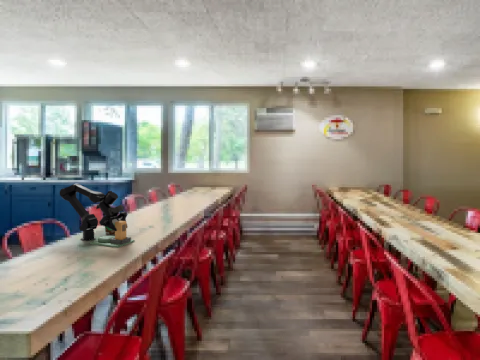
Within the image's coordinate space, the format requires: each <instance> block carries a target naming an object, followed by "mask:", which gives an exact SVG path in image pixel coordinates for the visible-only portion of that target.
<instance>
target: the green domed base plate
mask: <svg viewBox="0 0 480 360" xmlns="http://www.w3.org/2000/svg"><path fill="white" fill-rule="evenodd" d="M134 242H135V239H132V237H131V236H126V239H123V240H118V239H115V235H105V236H104V235H103V236H100V237H98V238H97V240H96V239H95V240H94V241H93V240H92V241H90V243H89V244H90V245H95V246H102V247H103V246H104V247H110V248H120V247H121V248H122V247H123V246H126V245H129V244H132V243H134Z"/></svg>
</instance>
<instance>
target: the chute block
mask: <svg viewBox="0 0 480 360" xmlns="http://www.w3.org/2000/svg"><path fill="white" fill-rule="evenodd" d="M126 223H127V220H126V221H117V222H115V227H116V229H117V231H115V234H114V236H115V239H118V240H123V239H126V237H127V228H126Z"/></svg>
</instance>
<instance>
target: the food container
mask: <svg viewBox="0 0 480 360" xmlns="http://www.w3.org/2000/svg"><path fill="white" fill-rule="evenodd" d="M117 221H118V220H117V219H115V220H112V223H113V224H114V226H115V222H117ZM104 231H105V232H104V233H105V235H106V236H115V231H114V230H112V229H110V228H108V227H105V226H104Z"/></svg>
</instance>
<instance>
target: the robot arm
mask: <svg viewBox="0 0 480 360" xmlns="http://www.w3.org/2000/svg"><path fill="white" fill-rule="evenodd" d="M77 193H79V194H80V195H83V196H85V197H87V198H88V199H89V201H91V203H93V204H95V203H96V207H95V208H96V210H99V209H100V211H101V212H102V215H103V217H102V218H101V219H100V220H98V217H97V216H96V215H95V214H94V213H92V214H90V213H89V212H88V210H86V208H85V206H83V204H82V202H81V201H80V200H79V199H78V197H77ZM59 196H60V197H61V198H62V199H63V200H64V201H66V202H69V204H70V205H71V206H72V208H73V209H74V210H75V211H76V213H77V214H78V216H79V217H80V218H81V225H80V226H79V231H80V232H82V238H80V240H81V241H86V242H89V241H90V242H91V241H93V240H96V239H97V238H96V237H95V230H97V227H98V225H100V226H101V227H102V226H103V227H104V228H105V227H108V228H110V229H112V230H114V231H117V229H116V227H115V226H114V224H113V223H112V220H115V219H117V220H118V221H126V229H128V227H129V226H128V223H127V219H126V218H127V217H128V215H129V214H128V213H127V212H126V211H124V209H125V208H124V206H123V204H119V205H117V206H115V207H114V206H113V207H112V206H111V205H113V204H114V203H115V202H116V201H117V199H118V198H119V196H118V193H116V192H114V191H112V190H108V191H107V193H106V194H105V193H103V192H100V191H95V190H92V189H89V188H88V187H86V186H83V185H81V184H80V183H73V184H71V185H69V186H66V187H64V188H61V189H59Z"/></svg>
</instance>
